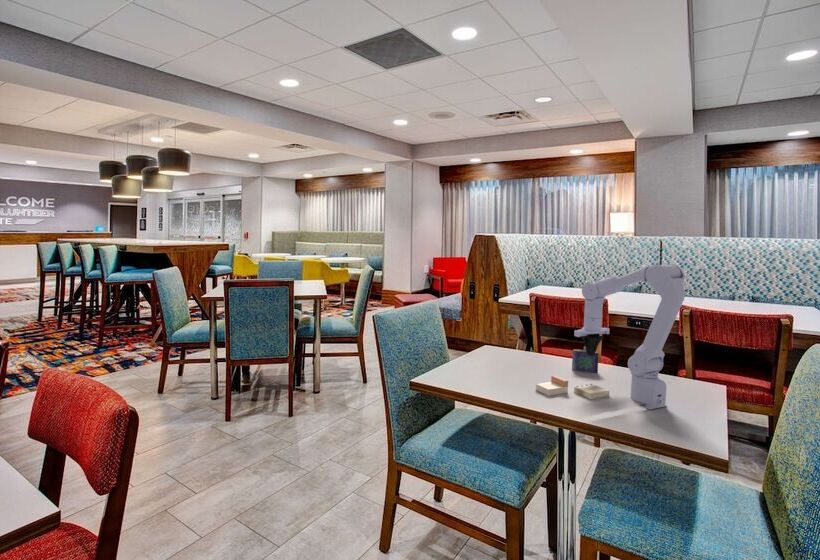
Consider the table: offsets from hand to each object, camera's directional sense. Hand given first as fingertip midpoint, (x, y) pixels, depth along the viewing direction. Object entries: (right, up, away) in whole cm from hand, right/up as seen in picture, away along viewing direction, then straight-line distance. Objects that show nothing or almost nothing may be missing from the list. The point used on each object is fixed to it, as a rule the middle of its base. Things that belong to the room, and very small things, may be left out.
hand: (590, 355), depth 161 cm
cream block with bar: (-17, -10, -11) cm, 23 cm away
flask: (+3, -10, +13) cm, 17 cm away
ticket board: (-10, -11, -11) cm, 19 cm away
